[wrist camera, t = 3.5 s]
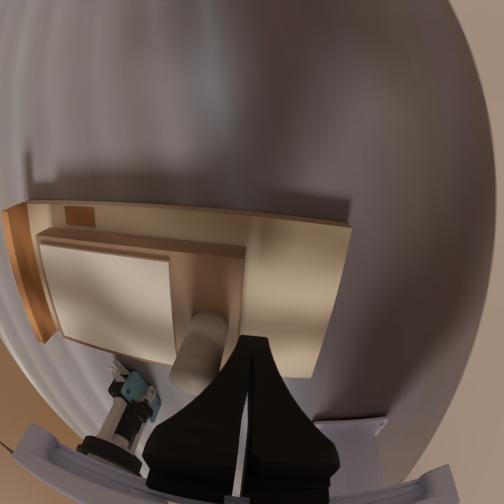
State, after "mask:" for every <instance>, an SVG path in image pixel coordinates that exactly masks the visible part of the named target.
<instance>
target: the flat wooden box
mask: <svg viewBox="0 0 504 504" xmlns="http://www.w3.org/2000/svg"><path fill="white" fill-rule="evenodd" d="M1 214H2V221H3V227H4V233H5V238H6V243H7V248H8V253H9V257H10V261H11V265H12V269H13V273H14V277H15V280H16V284H17V287H18V290H19V293H20V296H21V300H22V302H23V305H24V308H25V311H26V314H27V317H28V319H29V322H30V324H31V327H32V329H33V332H34V334H35V337H36V339H37V341H39V342H41V343H44V344H45V343H46V342H47V341H48V340H49V338H50V337H51V336H52V335H53V334H54V333H55V332H56V331H60V332H61V330H60V328H59V325H58V322H57V319H56V316H55V313H54V310H53V307H52V304H51V300H50V297H49V293H48V290H47V286H46V283H45V279H44V275H43V270H42V266H41V262H40V257H39V252H38V247H37V242H36V236H35V235H36V234H38V233H40V232H42V231H44V230H46V229H47V228H49V227H52V228H63V229H73V230H84V231H94V232H105V233H115V234H125V235H135V236H145V237H155V238H165V239H175V240H185V241H195V242H205V243H215V244H224V245H234V246H244V247H246V259H245V271H244V283H243V295H242V307H241V319H240V332H239V336H240V335H251V336H261V337H267V338H268V339H269V345H270V349H271V352H272V355H273V358H274V361H275V363H276V366H277V368H278V370H279V373H280V375H281V377H294V378H311V376H312V373H313V370H314V367H315V364H316V361H317V358H318V355H319V352H320V349H321V346H322V343H323V340H324V337H325V334H326V330H327V327H328V324H329V320H330V317H331V313H332V310H333V306H334V303H335V299H336V295H337V291H338V288H339V284H340V280H341V276H342V272H343V268H344V263H345V259H346V255H347V250H348V246H349V241H350V236H351V232H352V228H351V226H350V225H349V224H348V223H346V222H338V221H331V220H323V219H315V218H307V217H299V216H290V215H282V214H272V213H263V212H253V211H243V210H232V209H221V208H209V207H196V206H183V205H168V204H151V203H132V202H109V201H75V200H28V201H25V202H22V203H20V204H18V205H15V206H13V207H10V208H8V209H6V210H3V211H1Z"/></svg>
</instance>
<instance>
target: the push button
mask: <svg viewBox="0 0 504 504" xmlns="http://www.w3.org/2000/svg"><path fill="white" fill-rule="evenodd" d="M112 362H113V363H114V364H115V366H116V367H117V368H118V371H119V373H120V374H119V373H118V371H117V370H116V369H115V368H114V367H109V368H108V369H109V371H110V372H111V373H112V375H113V376H114V380H113V382H112V384H111V385H110V387H109V389H108V391H109V394H110V395H111V396H112V397H113V398H114V400H113V401H114V404H113V406H112V408H111V410H110V412H109V414H108V416H107V418H106V420H105V422H104V424H103V426H102V428H101V430H100V432H99V434H98V435H97V436H96V437H94V436H86V437H85V439H84V441H83V443H82V445H81V444H80V445H78V446H77V448H76V451H77V452H80V453H82V454H84V455H86V456H88V457H90V458H92V459H95V460H97V461H99V462H102V463H104V464H106V465H109V466H111V467H114V468H117V469H119V470H122V471H125V472H127V473H130V474H133V475H136V476H139V477H142V476H141V474H140V473H139V472H140V469H141V466H142V462H141V461H140V460H139V459H138V458H137V456H136V455H135V454H134V453H135V450H136V447H137V445H138V442H139V439H140V437H141V434H142V432H143V429H144V428H145V427H146V422H149V423H154V422H155V419H156V417H157V414H158V411H159V408H160V406H161V401H160V400H159V398H157V396H156V394H157V393H156V390H155V389H154V387H153V386H152V385H151V386H148V385H147V384H146V383H145V381H144V380H143V379H142V377H141V376H140V375H139V373H138V372H137V371H128V370H127V369H125V368H124V367H123V365H122V364H121V362H120V361H119V360H113V361H112ZM116 363H118V364H120V366H118V365H117V364H116ZM113 371H115V372H116V373H113ZM152 390H153V391H152Z"/></svg>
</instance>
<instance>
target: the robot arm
mask: <svg viewBox="0 0 504 504" xmlns="http://www.w3.org/2000/svg"><path fill="white" fill-rule="evenodd" d="M247 392H248V428H247V438H246V448H245V457H244V466H243V474H242V483H241V491H240V497H234V496H232V491H233V484H234V478H235V471H236V463H237V455H238V446H239V437H240V428H241V419H242V414H243V410H244V405H245V401H246V396H247ZM387 422H388V417H377V418H367V419H356V420H339V421H316V422H314V423H312V422H311V420H310V419H309V418H308V417H307V416H306V414H305V413H304V412H303V411H302V410H301V408H300V407H299V405H298V404H297V403H296V401H295V400H294V398H293V397H292V395H291V393H290V392H289V390H288V388H287V387H286V385H285V383H284V381H283V379H282V377H281V375H280V373H279V370H278V368H277V366H276V363H275V361H274V358H273V355H272V352H271V349H270V345H269V339H268V338H267V337H261V336H251V335H240V336H239V339H238V341H237V344H236V346H235V348H234V350H233V352H232V353H231V355H230V357H229V358H228V360H227V362H226V363H225V365H224V366H223V367H222V369H221V370H220V371H219V373H218V374H217V375H216V377H215V378H214V379H213V380H212V382H211V383H210V384H209V385H208V386H207V387H206V388H205V389H204V390H203V391H202V392H201V393H200V394H199V395H198V396H197V397H196V398H195V399H194V400H193V401H192V402H190V403H189V404H188V405H187V406H185V407H184V408H183V409H181V410H180V411H179V412H177V413H176V414H175V415H173V416H172V417H170V418H168V419H167V420H165V421H164V422H162V423H160V424H159V425H157V426H156V427H155V429H154V430H153V431H152V433H151V435H150V436H149V438H148V440H147V442H146V444H145V447H144V450H143V453H142V457H143V459H144V461H145V462H146V464H147V465H148V467H149V468H150V471H149V474H148V477H147V479H146V478H143V477H139V476H136V475H133V474H130V473H127V472H125V471H122V470H119V469H117V468H114V467H111V466H109V465H106V464H104V463H102V462H99V461H97V460H95V459H92V458H90V457H88V456H86V455H84V454H82V453H80V452H77V451H75V450H73V449H71V448H70V447H68V446H66V445H64V444H62V443H60V442H58V440H57V438H56V437H55V436H54V435H53V434H51V433H50V432H49V431H47V430H46V429H44V428H42V427H41V426H39V425H37V424H36V423H34V422H31V423H30V425H29V426H28V428H27V430H26V431H25V433H24V435H23V436H22V438H21V440H20V441H19V443H18V445H17V447H16V449H15V450H14V452H13V454H12V458H13V459H14V460H15V461H16V462H18V463H19V464H20V465H21V466H22V467H24V468H25V469H26V470H27V471H29V472H30V473H31V474H33V475H34V476H35V477H37V478H38V479H39V480H41V481H42V482H44V483H45V484H47V485H49V486H50V487H52V488H53V489H55V490H57V491H58V492H60V493H62V494H63V495H65V496H67V497H69V498H70V499H72V500H74V501H76V502H78V503H80V504H168V502H167V501H170V502H175V503H178V504H459V502H460V500H459V497H458V493H457V490H456V486H455V483H454V479H453V476H452V473H451V470H450V467H449V465H448V464H447V465H444V466H441V467H439V468H436V469H433V470H431V471H428V472H427V473H425V474H423V475H422V476H421V477H420V478H419V479H416V480H412V481H409V482H405V483H402V484H398V485H394V486H390V487H386V483H385V478H384V473H383V468H382V463H381V459H380V454H379V450H378V446H377V442H376V438H375V436H376V435H377V434H378V433H379V431H380V430H381V429H382V428H383V427H384V425H385V424H386V423H387ZM165 500H166V501H165Z"/></svg>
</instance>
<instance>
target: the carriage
mask: <svg viewBox="0 0 504 504" xmlns="http://www.w3.org/2000/svg"><path fill="white" fill-rule="evenodd" d="M35 236H36V242H37V247H38V252H39V257H40V262H41V266H42V270H43V275H44V279H45V283H46V286H47V290H48V293H49V297H50V300H51V304H52V307H53V310H54V313H55V316H56V319H57V322H58V325H59V328H60V330H61V333H62V336H63V337H64V338H66V339H69V340H72V341H75V342H78V343H81V344H84V345H87V346H90V347H93V348H96V349H99V350H103V351H106V352H110V353H113V354H117V355H120V356H124V357H128V358H131V359H135V360H139V361H143V362H148V363H152V364H156V365H161V366H166V367H171V368H172V369H171V371H170V375H169V377H170V380H171V382H172V384H173V385H174V386H175V387H176V388H178V389H179V390H181V391H182V392H185V393H187V394H190V395H194V396H198V395H199V394H200V393H201V392H202V391H203V390H204V389H205V388H206V387H207V386H208V385H209V384H210V383H211V382H212V380H213V379H214V378H215V377H216V375H217V374H218V373H219V371H220V370H221V369H222V367H223V366H224V365H225V363H226V362H227V360H228V358H229V357H230V355H231V353H232V352H233V350H234V348H235V346H236V344H237V341H238V339H239V332H240V319H241V307H242V295H243V283H244V271H245V259H246V247H244V246H234V245H224V244H215V243H205V242H195V241H185V240H175V239H165V238H155V237H145V236H135V235H125V234H115V233H105V232H94V231H84V230H73V229H63V228H52V227H49V228H47V229H46V230H44V231H42V232H40V233H38V234H36V235H35Z"/></svg>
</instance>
